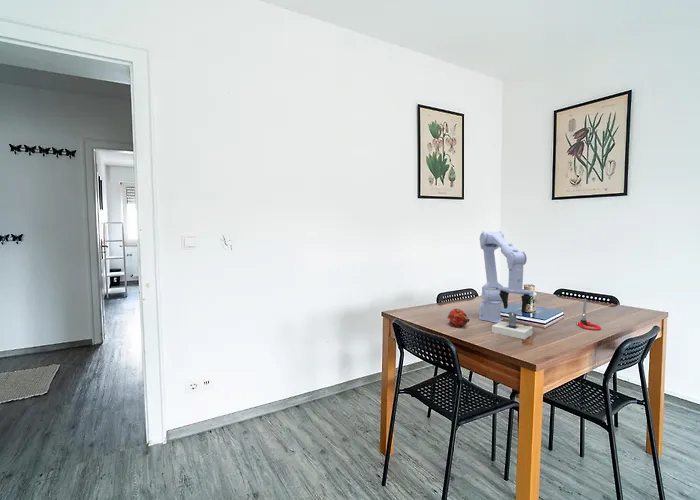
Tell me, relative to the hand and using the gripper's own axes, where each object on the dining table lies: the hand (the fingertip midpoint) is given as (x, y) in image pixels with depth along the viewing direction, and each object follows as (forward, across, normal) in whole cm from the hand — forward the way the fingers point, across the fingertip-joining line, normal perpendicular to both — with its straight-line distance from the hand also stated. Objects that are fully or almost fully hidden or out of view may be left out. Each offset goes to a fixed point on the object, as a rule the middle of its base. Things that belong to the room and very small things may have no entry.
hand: (514, 309), depth 166 cm
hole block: (+10, 0, -2) cm, 10 cm away
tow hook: (+11, +23, +32) cm, 40 cm away
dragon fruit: (+11, -23, -7) cm, 26 cm away
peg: (+10, 0, -2) cm, 11 cm away
